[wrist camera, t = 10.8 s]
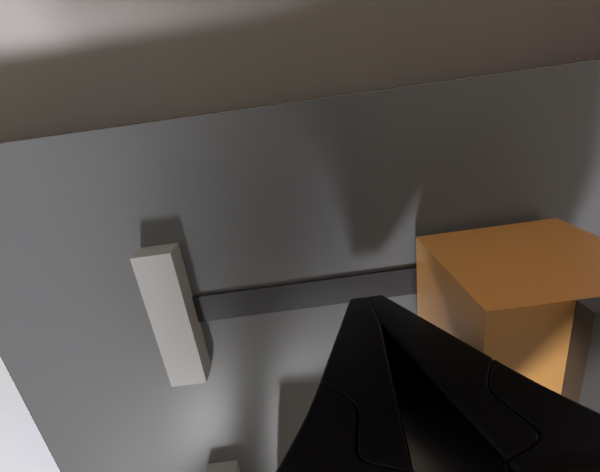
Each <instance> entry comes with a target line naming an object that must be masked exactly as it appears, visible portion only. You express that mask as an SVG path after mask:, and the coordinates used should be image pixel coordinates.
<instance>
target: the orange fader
mask: <svg viewBox="0 0 600 472" xmlns="http://www.w3.org/2000/svg"><path fill="white" fill-rule="evenodd" d="M416 267H417V315H418V316H420V317H422V318H423V319H425V320H427V321H429V322H430V323H432V324H434V325H436V326H437V327H439V328H441V329H442V330H444V331H446V332H448V333H449V334H451V335H453V336H455V337H456V338H458V339H460V340H462V341H463V342H465V343H467V344H469V345H470V346H472V347H474V348H476V349H477V350H479V351H481V352H483V353H484V354H486V355H488V356H490V357H491V358H492V359H493V360H497V361H499V362H500V363H502V364H504V365H506V366H507V367H509V368H511V369H513V370H514V371H516V372H518V373H520V374H522V375H524V376H525V377H527V378H529V379H531V380H533V381H535V382H536V383H538V384H540V385H542V386H544V387H546V388H548V389H550V390H552V391H554V392H556V393H558V394H560V395H562V396H564V397H566V398H568V399H570V400H572V401H575V402H577V403H579V404H581V405H583V406H585V407H587V408H589V409H591V410H593V411H595V412H598V413H600V237H599V236H596V235H594V234H592V233H590V232H587V231H585V230H583V229H580V228H578V227H576V226H574V225H571V224H569V223H567V222H565V221H562V220H560V219H558V218H552V219H545V220H538V221H530V222H523V223H515V224H508V225H500V226H493V227H485V228H478V229H470V230H463V231H455V232H448V233H440V234H433V235H426V236H418V237H416Z"/></svg>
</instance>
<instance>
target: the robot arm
mask: <svg viewBox="0 0 600 472" xmlns="http://www.w3.org/2000/svg"><path fill="white" fill-rule="evenodd" d="M413 468H414V470H415V472H600V413H598V412H595V411H593V410H591V409H589V408H587V407H585V406H583V405H581V404H579V403H577V402H575V401H572V400H570V399H568V398H566V397H564V396H562V395H560V394H558V393H556V392H554V391H552V390H550V389H548V388H546V387H544V386H542V385H540V384H538V383H536V382H535V381H533V380H531V379H529V378H527V377H525V376H524V375H522V374H520V373H518V372H516V371H514V370H513V369H511V368H509V367H507V366H506V365H504V364H502V363H500V362H499V361H497V360H493V359H492V358H491V357H490V356H488V355H486V354H484V353H483V352H481V351H479V350H477V349H476V348H474V347H472V346H470V345H469V344H467V343H465V342H463V341H462V340H460V339H458V338H456V337H455V336H453V335H451V334H449V333H448V332H446V331H444V330H442V329H441V328H439V327H437V326H436V325H434V324H432V323H430V322H429V321H427V320H425V319H423V318H422V317H420V316H418V315H416V314H415V313H413V312H411V311H409V310H408V309H406V308H404V307H402V306H401V305H399V304H397V303H395V302H394V301H392V300H390V299H388V298H387V297H385V296H383V295H377V296H370V297H367V298H366V297H362V298H355V299H351V300H350V301H349V304H348V307H347V309H346V312H345V315H344V318H343V320H342V323H341V326H340V329H339V331H338V334H337V337H336V340H335V342H334V345H333V348H332V351H331V353H330V356H329V359H328V361H327V364H326V367H325V370H324V372H323V375H322V378H321V381H320V383H319V386H318V388H317V391H316V394H315V396H314V399H313V401H312V404H311V406H310V408H309V411H308V413H307V415H306V417H305V419H304V421H303V423H302V425H301V427H300V429H299V431H298V433H297V435H296V437H295V438H294V440H293V442H292V444H291V446H290V447H289V449H288V451H287V453H286V454H285V456H284V458H283V460H282V462H281V463H280V465H279V467H278V469H277V471H276V472H414V470H413Z"/></svg>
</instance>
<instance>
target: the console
mask: <svg viewBox="0 0 600 472" xmlns="http://www.w3.org/2000/svg"><path fill="white" fill-rule="evenodd" d="M552 218H558V219H560V220H562V221H565V222H567V223H569V224H571V225H574V226H576V227H578V228H580V229H583V230H585V231H587V232H590V233H592V234H594V235H596V236H599V237H600V59H596V60H589V61H582V62H574V63H567V64H560V65H553V66H546V67H539V68H531V69H524V70H517V71H510V72H503V73H496V74H489V75H481V76H474V77H467V78H460V79H453V80H446V81H438V82H431V83H424V84H417V85H410V86H403V87H395V88H388V89H381V90H374V91H367V92H360V93H353V94H345V95H338V96H331V97H324V98H317V99H310V100H302V101H295V102H288V103H281V104H274V105H267V106H259V107H252V108H245V109H238V110H231V111H224V112H217V113H209V114H202V115H195V116H188V117H181V118H174V119H166V120H159V121H152V122H145V123H138V124H131V125H124V126H116V127H109V128H102V129H95V130H88V131H81V132H73V133H66V134H59V135H52V136H45V137H38V138H30V139H23V140H16V141H9V142H2V143H0V357H1V358H2V360H3V362H4V364H5V366H6V368H7V370H8V372H9V374H10V376H11V378H12V380H13V381H14V383H15V385H16V387H17V389H18V391H19V393H20V395H21V397H22V399H23V401H24V403H25V404H26V406H27V408H28V410H29V412H30V414H31V416H32V418H33V420H34V422H35V424H36V426H37V427H38V429H39V431H40V433H41V435H42V437H43V439H44V441H45V443H46V445H47V447H48V449H49V451H50V452H51V454H52V456H53V458H54V460H55V462H56V464H57V466H58V468H59V470H60V472H276V471H277V469H278V467H279V465H280V463H281V462H282V460H283V458H284V456H285V454H286V453H287V451H288V449H289V447H290V446H291V444H292V442H293V440H294V438H295V437H296V435H297V433H298V431H299V429H300V427H301V425H302V423H303V421H304V419H305V417H306V415H307V413H308V411H309V408H310V406H311V404H312V401H313V399H314V396H315V394H316V391H317V388H318V386H319V383H320V381H321V378H322V375H323V372H324V370H325V367H326V364H327V361H328V359H329V356H330V353H331V351H332V348H333V345H334V342H335V340H336V337H337V334H338V331H339V329H340V326H341V323H342V320H343V318H344V315H345V312H346V309H347V307H348V304H349V301H350V300H351V299H355V298H362V297H366V298H367V297H370V296H377V295H383V296H385V297H387V298H388V299H390V300H392V301H394V302H395V303H397V304H399V305H401V306H402V307H404V308H406V309H408V310H409V311H411V312H413V313H415V314H416V315H417V267H416V237H418V236H426V235H433V234H440V233H448V232H455V231H463V230H470V229H478V228H485V227H493V226H500V225H508V224H515V223H523V222H530V221H538V220H545V219H552ZM413 470H414V468H413ZM414 472H415V470H414Z"/></svg>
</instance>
